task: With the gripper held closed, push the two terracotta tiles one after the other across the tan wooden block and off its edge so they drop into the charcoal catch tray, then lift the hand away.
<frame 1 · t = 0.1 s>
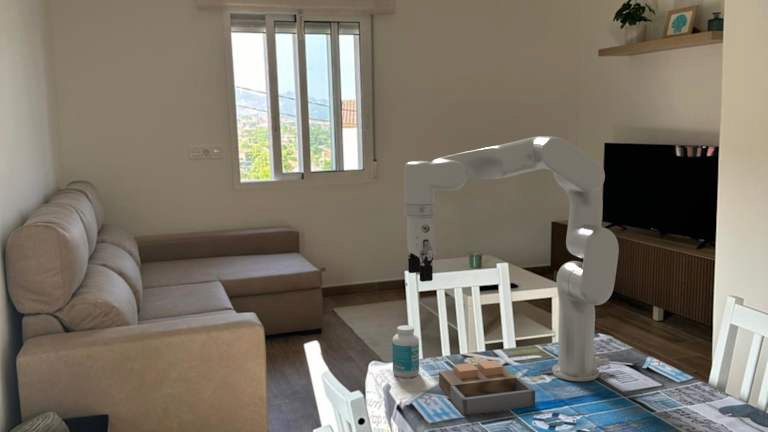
hand: (420, 276, 177), 31 cm above the table, tool pointing down, fingers open, 9 cm apart
tray: (485, 396, 178), on the table
tile 1: (465, 374, 183), point 4 cm above the table, touching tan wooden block
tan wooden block: (477, 388, 183), on the table
pill bottle: (406, 374, 195), on the table
tile 2: (490, 371, 185), point 4 cm above the table, touching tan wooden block
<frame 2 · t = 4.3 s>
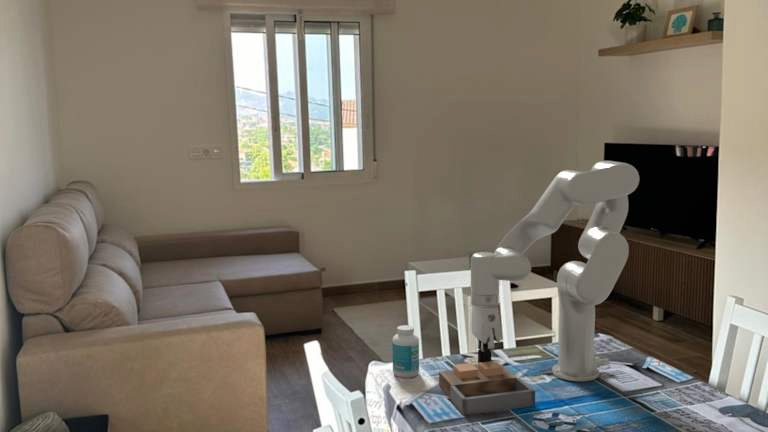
hand: (484, 364, 188), 5 cm above the table, tool pointing down, fingers closed
tile 2: (490, 372, 184), point 4 cm above the table, touching gripper
everything else where it was.
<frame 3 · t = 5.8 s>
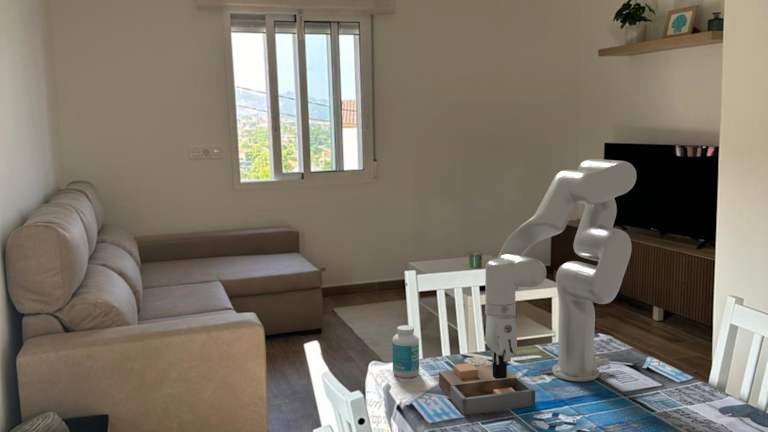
hand: (499, 377, 179), 5 cm above the table, tool pointing down, fingers closed
tile 2: (506, 392, 174), point 3 cm above the table, tilted 180°, touching tray
everything else where it was.
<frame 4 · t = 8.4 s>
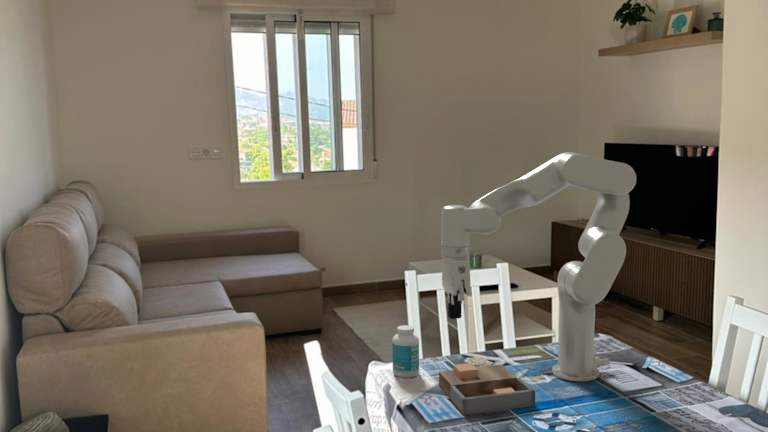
hand: (454, 317, 188), 17 cm above the table, tool pointing down, fingers closed
nothing on the table moved.
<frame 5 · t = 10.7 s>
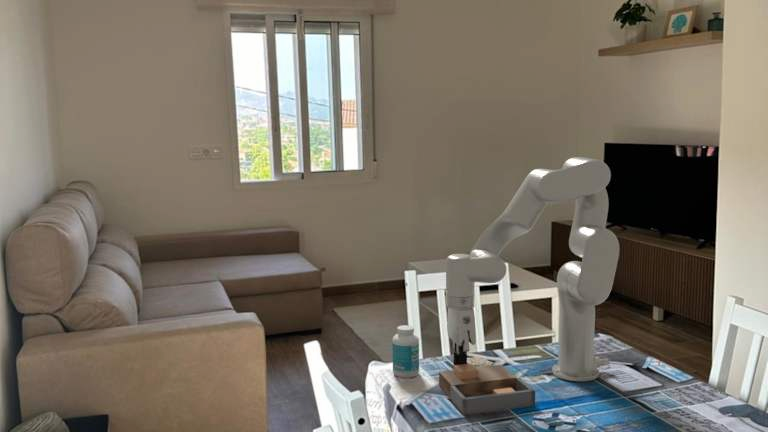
hand: (460, 366, 186), 5 cm above the table, tool pointing down, fingers closed
tile 1: (465, 374, 183), point 4 cm above the table, touching gripper
everything else where it was.
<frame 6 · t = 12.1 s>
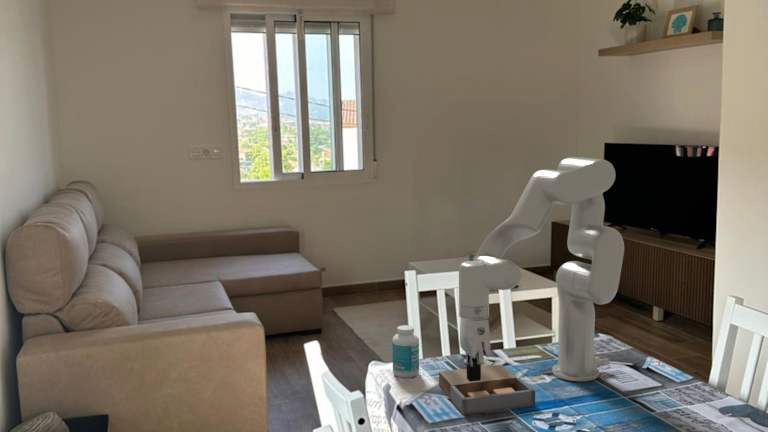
hand: (473, 379, 177), 5 cm above the table, tool pointing down, fingers closed
tile 1: (480, 395, 173), point 3 cm above the table, tilted 180°, touching tray
everything else where it was.
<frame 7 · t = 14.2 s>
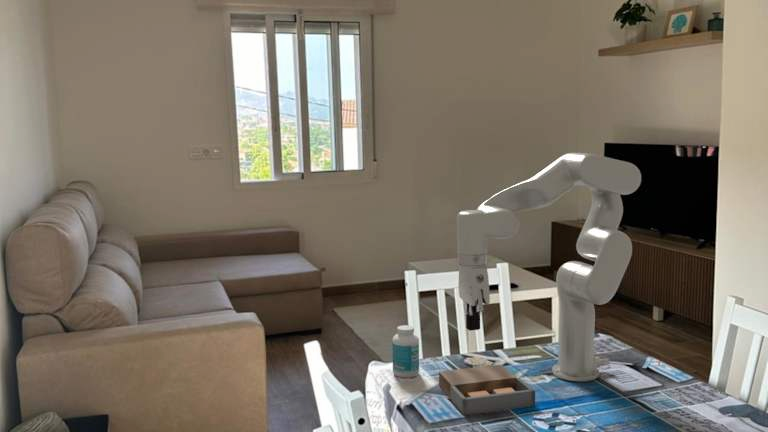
hand: (473, 329, 178), 17 cm above the table, tool pointing down, fingers closed
nothing on the table moved.
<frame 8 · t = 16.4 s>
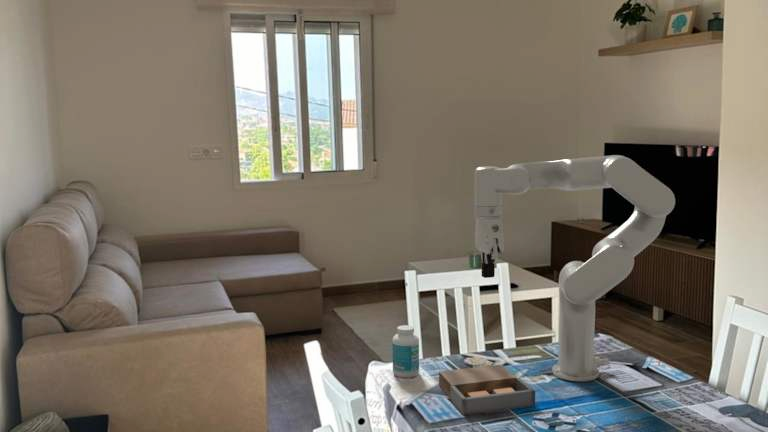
hand: (488, 276, 193), 27 cm above the table, tool pointing down, fingers closed
nothing on the table moved.
at the end: tile 2 inside the target area on the tray (3.6 cm from its centre), point 2.6 cm above the tray's base; tile 1 inside the target area on the tray (3.3 cm from its centre), point 2.6 cm above the tray's base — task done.
